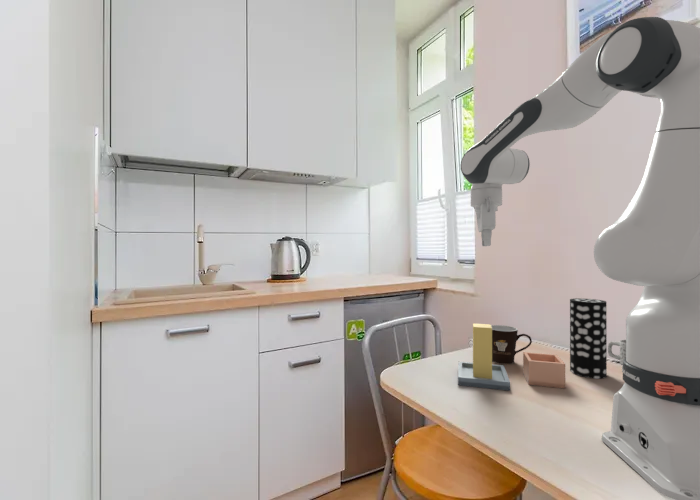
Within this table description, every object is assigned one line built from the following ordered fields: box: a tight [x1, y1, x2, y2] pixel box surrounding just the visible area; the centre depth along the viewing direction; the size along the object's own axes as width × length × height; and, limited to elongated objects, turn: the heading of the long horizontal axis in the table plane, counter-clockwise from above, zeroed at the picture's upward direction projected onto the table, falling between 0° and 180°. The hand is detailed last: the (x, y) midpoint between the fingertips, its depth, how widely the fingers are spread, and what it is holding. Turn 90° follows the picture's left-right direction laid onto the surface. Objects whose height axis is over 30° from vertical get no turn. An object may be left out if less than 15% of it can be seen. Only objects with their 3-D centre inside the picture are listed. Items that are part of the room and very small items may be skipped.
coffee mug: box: [491, 324, 533, 365], centre depth 106 cm, size 12×9×10 cm
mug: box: [607, 339, 626, 366], centre depth 105 cm, size 10×7×7 cm, turn 32°
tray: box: [457, 361, 511, 392], centre depth 93 cm, size 13×12×2 cm
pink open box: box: [522, 351, 566, 389], centre depth 91 cm, size 8×8×6 cm
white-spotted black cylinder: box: [569, 297, 608, 379], centre depth 96 cm, size 8×8×20 cm
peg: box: [472, 322, 493, 379], centre depth 92 cm, size 4×4×13 cm
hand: (486, 246), depth 105 cm, fingers open, 8 cm apart
